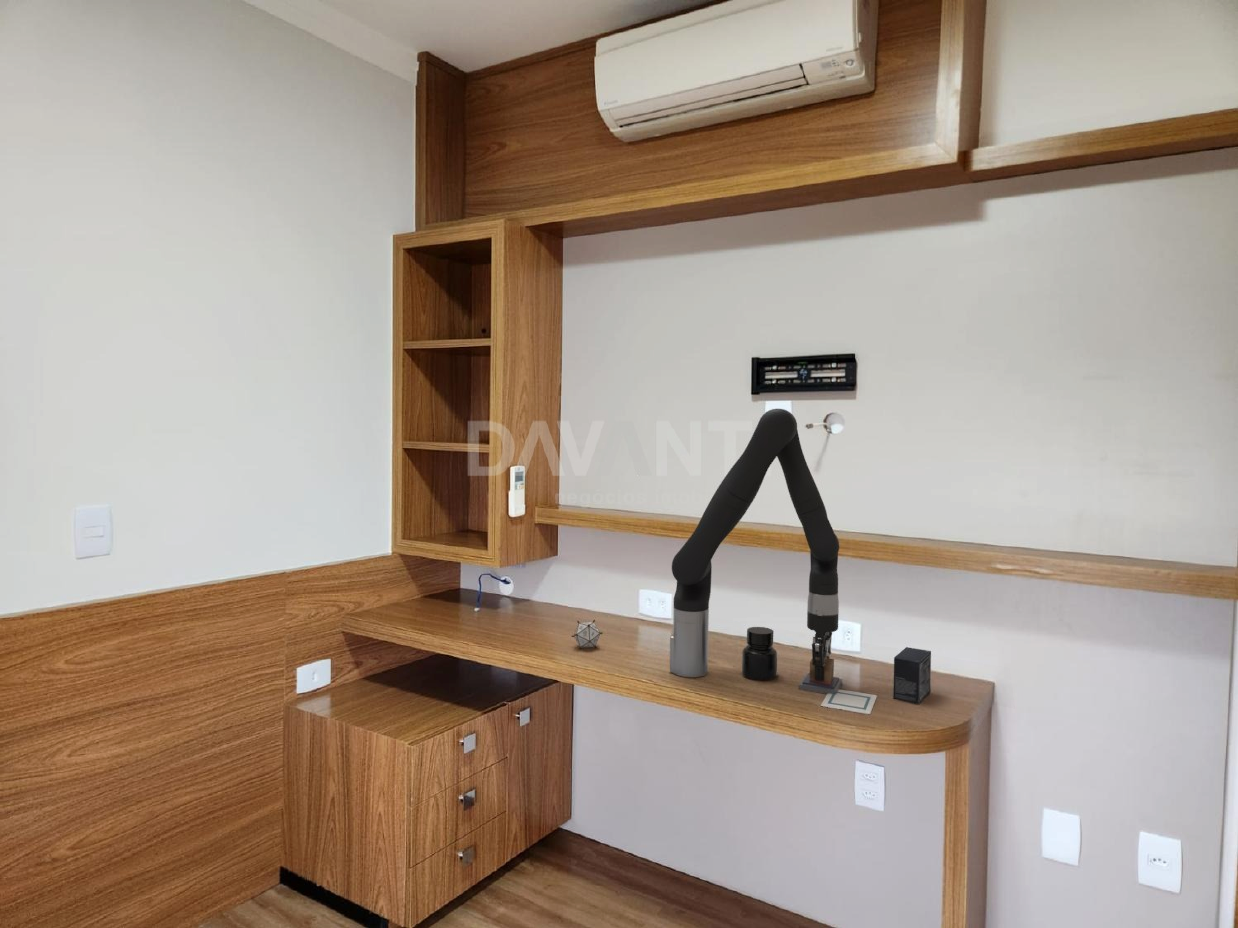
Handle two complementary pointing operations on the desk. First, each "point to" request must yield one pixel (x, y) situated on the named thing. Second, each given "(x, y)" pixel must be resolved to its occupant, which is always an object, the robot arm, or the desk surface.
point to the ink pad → (820, 685)
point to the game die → (587, 634)
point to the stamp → (827, 671)
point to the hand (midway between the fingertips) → (821, 676)
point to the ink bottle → (759, 655)
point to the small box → (912, 675)
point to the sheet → (850, 701)
